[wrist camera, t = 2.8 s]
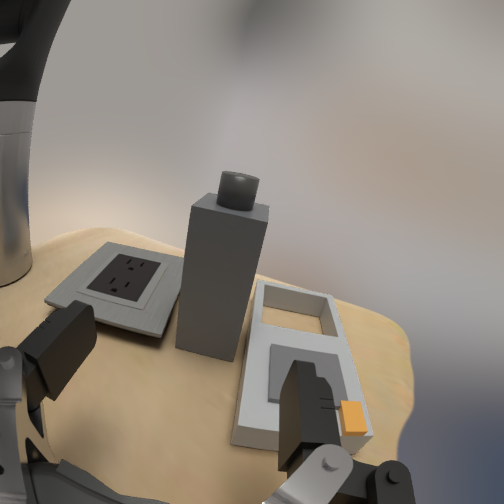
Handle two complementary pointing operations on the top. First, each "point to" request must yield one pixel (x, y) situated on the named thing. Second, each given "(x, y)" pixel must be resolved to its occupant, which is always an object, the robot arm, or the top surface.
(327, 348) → the grey rectangular frame
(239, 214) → the plug
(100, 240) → the top surface
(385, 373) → the top surface
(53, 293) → the electrical outlet
